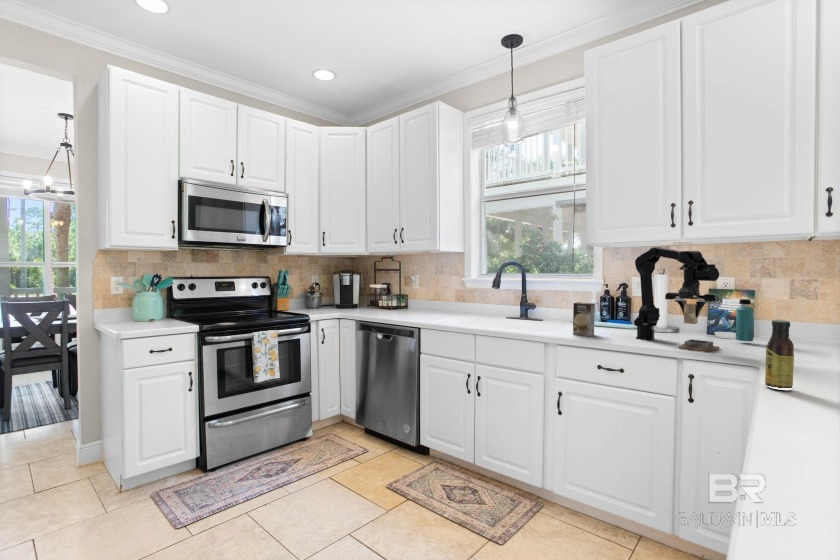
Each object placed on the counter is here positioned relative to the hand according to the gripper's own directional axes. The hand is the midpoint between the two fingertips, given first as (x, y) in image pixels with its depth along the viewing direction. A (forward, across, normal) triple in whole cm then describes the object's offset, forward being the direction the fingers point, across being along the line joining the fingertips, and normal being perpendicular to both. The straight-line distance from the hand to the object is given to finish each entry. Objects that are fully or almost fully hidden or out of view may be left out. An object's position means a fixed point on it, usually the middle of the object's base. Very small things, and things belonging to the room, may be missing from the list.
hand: (691, 317), depth 186 cm
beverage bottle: (+14, +12, +31) cm, 36 cm away
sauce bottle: (+14, +38, -49) cm, 63 cm away
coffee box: (+13, -48, 0) cm, 50 cm away
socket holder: (+13, +3, +2) cm, 14 cm away
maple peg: (+2, 0, 0) cm, 3 cm away
